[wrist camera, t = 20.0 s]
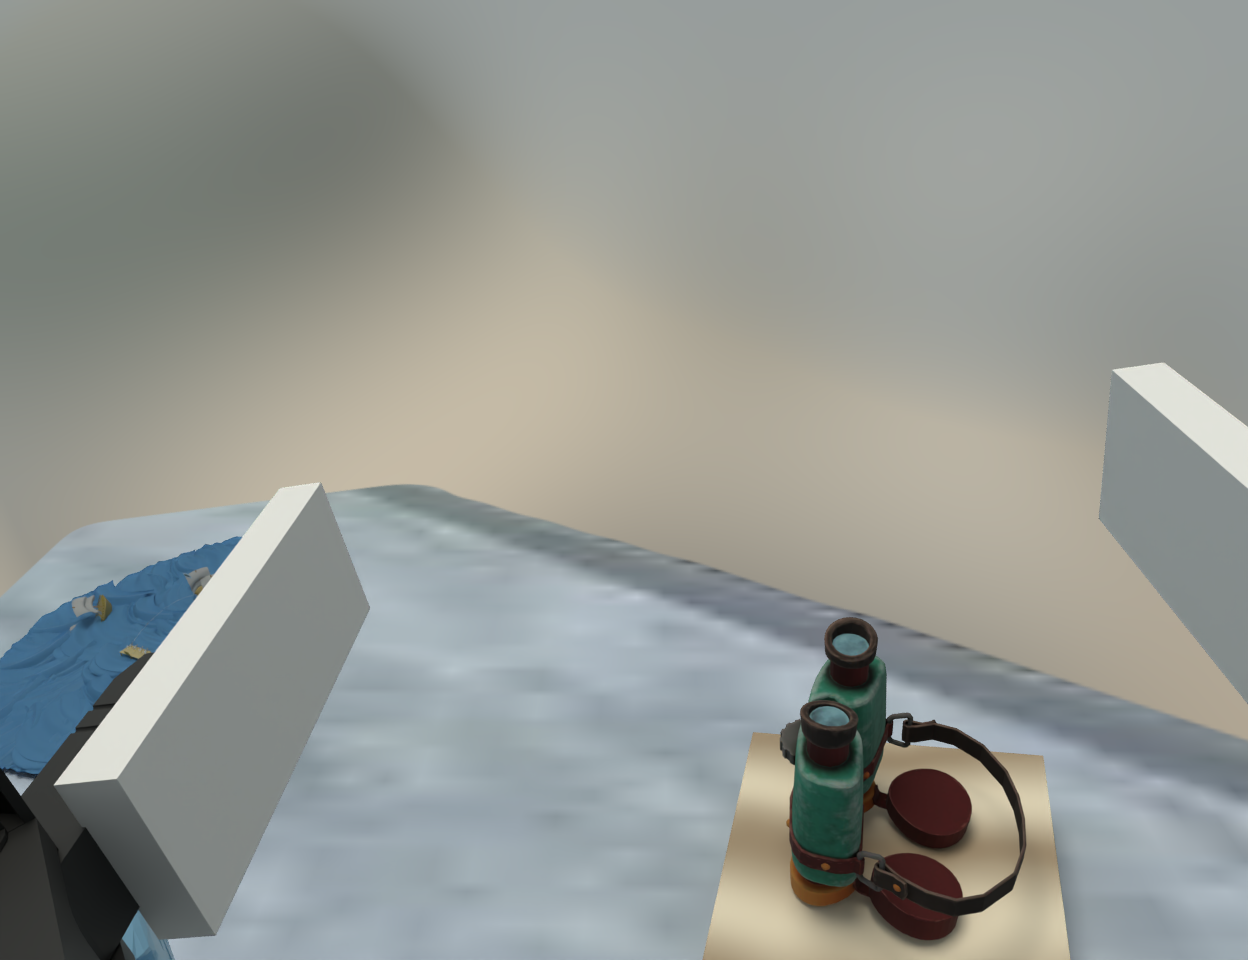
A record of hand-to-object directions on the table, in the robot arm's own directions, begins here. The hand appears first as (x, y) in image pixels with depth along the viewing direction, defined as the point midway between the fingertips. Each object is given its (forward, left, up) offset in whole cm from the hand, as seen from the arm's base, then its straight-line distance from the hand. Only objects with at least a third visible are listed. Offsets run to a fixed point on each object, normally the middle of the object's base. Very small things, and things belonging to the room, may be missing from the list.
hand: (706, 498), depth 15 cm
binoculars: (+15, -3, -28) cm, 31 cm away
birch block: (+14, -2, -32) cm, 36 cm away
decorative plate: (+35, +52, -33) cm, 71 cm away
